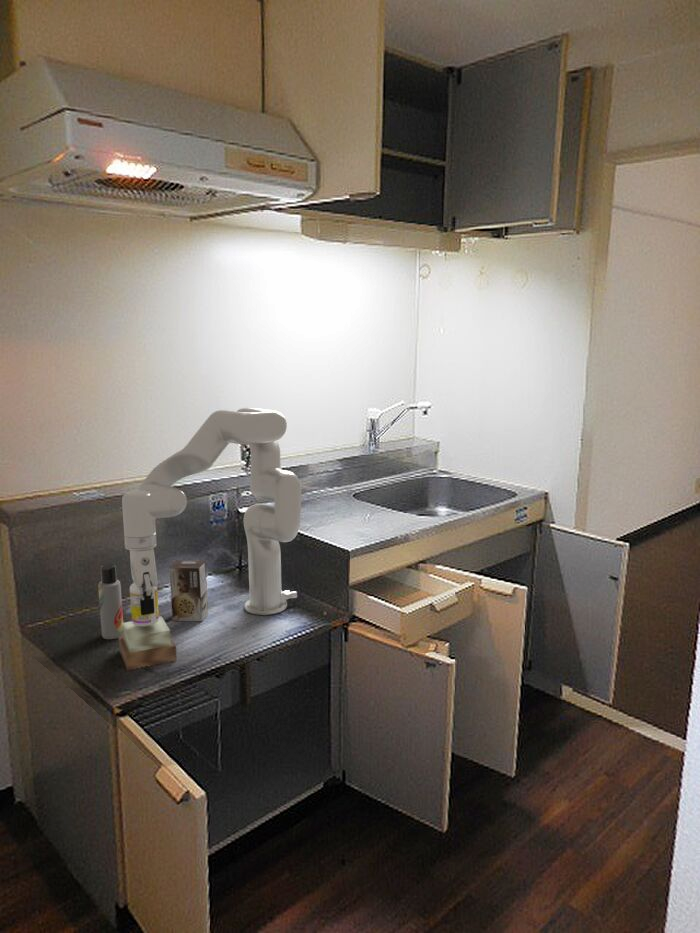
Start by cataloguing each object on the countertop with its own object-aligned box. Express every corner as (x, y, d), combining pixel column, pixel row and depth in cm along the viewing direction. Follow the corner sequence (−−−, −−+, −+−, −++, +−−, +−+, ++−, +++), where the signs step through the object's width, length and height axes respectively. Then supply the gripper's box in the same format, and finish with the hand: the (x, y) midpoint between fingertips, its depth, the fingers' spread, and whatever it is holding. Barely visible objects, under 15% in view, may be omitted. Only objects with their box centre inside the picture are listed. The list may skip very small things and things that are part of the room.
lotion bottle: (128, 632, 200) (123, 562, 196) (116, 640, 194) (111, 569, 190) (110, 630, 201) (104, 561, 197) (97, 638, 196) (92, 567, 192)
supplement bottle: (148, 614, 188) (145, 567, 186) (164, 621, 184) (161, 572, 182) (126, 622, 183) (123, 574, 181) (142, 629, 179) (138, 580, 176)
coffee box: (209, 613, 213) (206, 560, 209) (202, 622, 206) (199, 568, 203) (178, 612, 213) (176, 559, 210) (171, 620, 207) (168, 567, 204)
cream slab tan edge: (166, 642, 193) (164, 614, 192) (176, 660, 183) (174, 630, 181) (119, 651, 188) (117, 622, 186) (127, 670, 177) (125, 640, 176)
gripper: (163, 548, 173) (167, 618, 177) (149, 530, 189) (153, 595, 192) (131, 552, 170) (135, 624, 174) (119, 533, 185) (123, 599, 189)
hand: (144, 608), depth 183 cm, fingers closed on supplement bottle, 6 cm apart
